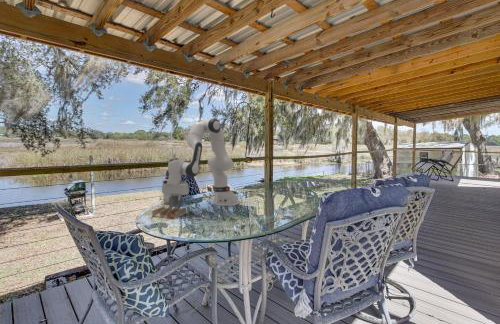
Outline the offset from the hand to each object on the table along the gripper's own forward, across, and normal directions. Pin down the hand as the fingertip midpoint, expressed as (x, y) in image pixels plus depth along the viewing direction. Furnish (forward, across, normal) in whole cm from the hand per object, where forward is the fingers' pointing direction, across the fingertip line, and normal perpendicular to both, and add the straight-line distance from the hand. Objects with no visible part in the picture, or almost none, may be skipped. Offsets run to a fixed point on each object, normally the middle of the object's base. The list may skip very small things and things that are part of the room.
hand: (175, 200), depth 201 cm
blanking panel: (+4, 0, 0) cm, 4 cm away
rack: (+11, +6, 0) cm, 13 cm away
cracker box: (+11, +22, -30) cm, 39 cm away
